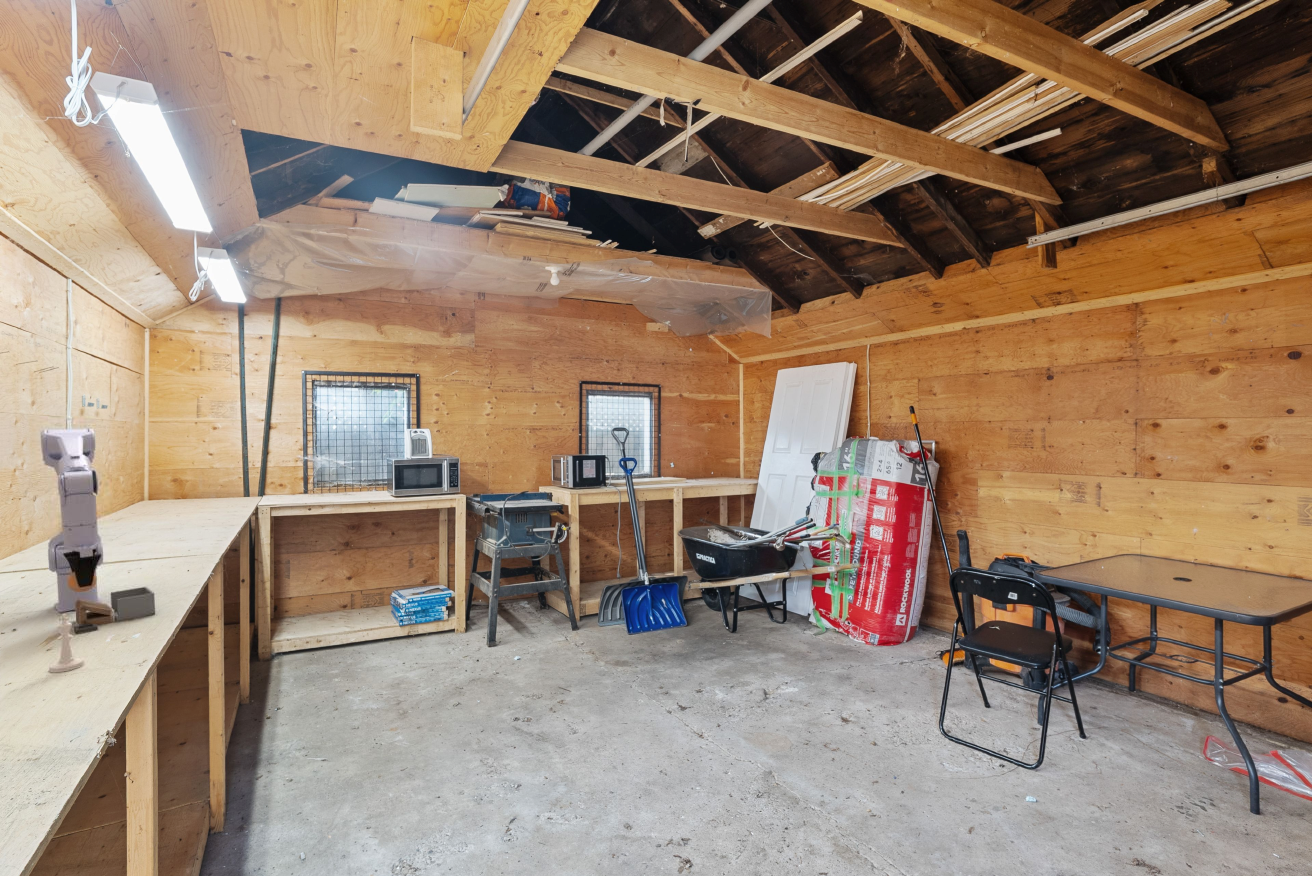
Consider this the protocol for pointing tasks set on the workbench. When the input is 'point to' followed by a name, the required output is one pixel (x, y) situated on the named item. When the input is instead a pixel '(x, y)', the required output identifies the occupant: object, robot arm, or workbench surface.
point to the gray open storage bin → (132, 603)
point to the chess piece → (65, 650)
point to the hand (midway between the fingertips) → (83, 584)
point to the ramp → (93, 612)
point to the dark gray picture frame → (85, 628)
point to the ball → (74, 585)
